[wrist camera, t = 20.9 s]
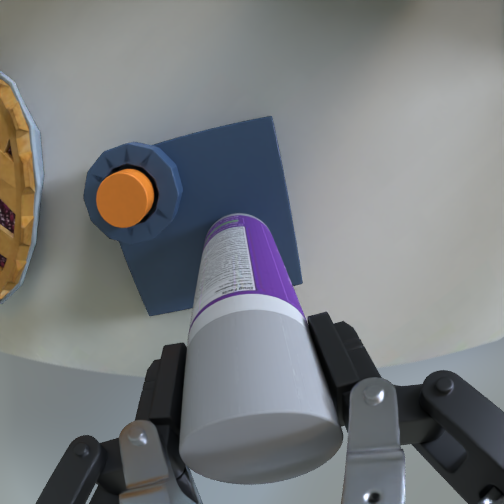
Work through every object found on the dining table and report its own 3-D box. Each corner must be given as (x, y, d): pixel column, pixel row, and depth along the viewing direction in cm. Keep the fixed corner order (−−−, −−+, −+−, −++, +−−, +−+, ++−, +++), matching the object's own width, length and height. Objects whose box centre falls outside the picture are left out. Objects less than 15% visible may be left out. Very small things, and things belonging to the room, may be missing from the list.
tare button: (100, 177, 16) (88, 182, 15) (146, 161, 16) (138, 165, 15) (115, 225, 18) (106, 234, 16) (161, 212, 18) (154, 220, 16)
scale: (95, 157, 19) (73, 164, 15) (266, 109, 19) (274, 104, 15) (147, 306, 24) (137, 331, 20) (298, 273, 24) (308, 296, 20)
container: (285, 257, 21) (364, 452, 7) (227, 288, 22) (234, 494, 8) (252, 199, 19) (312, 378, 5) (190, 235, 20) (136, 439, 6)
